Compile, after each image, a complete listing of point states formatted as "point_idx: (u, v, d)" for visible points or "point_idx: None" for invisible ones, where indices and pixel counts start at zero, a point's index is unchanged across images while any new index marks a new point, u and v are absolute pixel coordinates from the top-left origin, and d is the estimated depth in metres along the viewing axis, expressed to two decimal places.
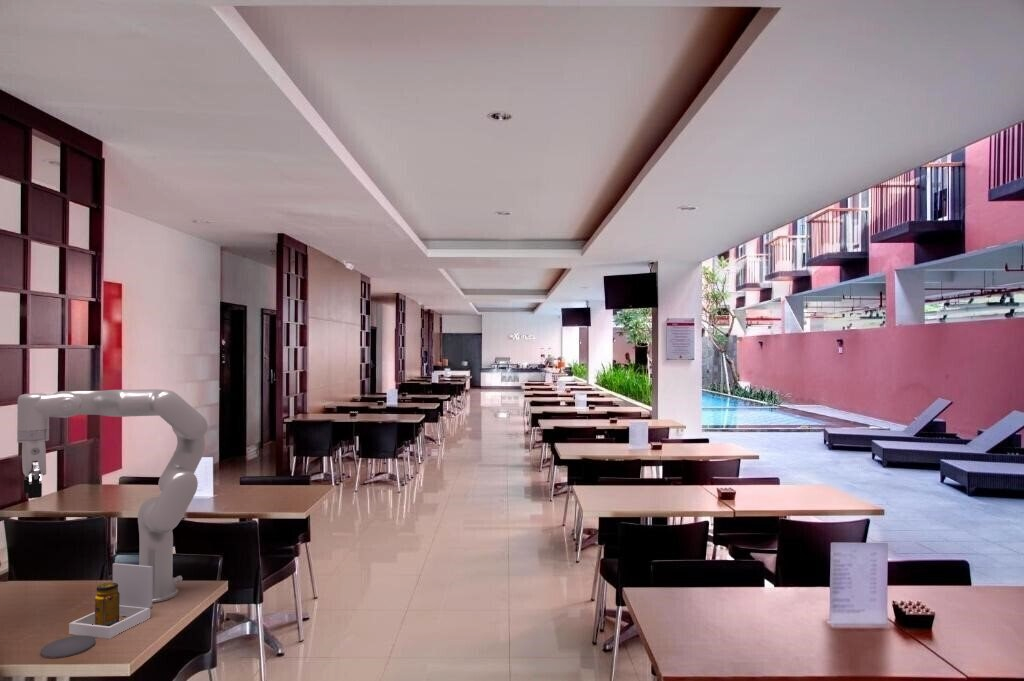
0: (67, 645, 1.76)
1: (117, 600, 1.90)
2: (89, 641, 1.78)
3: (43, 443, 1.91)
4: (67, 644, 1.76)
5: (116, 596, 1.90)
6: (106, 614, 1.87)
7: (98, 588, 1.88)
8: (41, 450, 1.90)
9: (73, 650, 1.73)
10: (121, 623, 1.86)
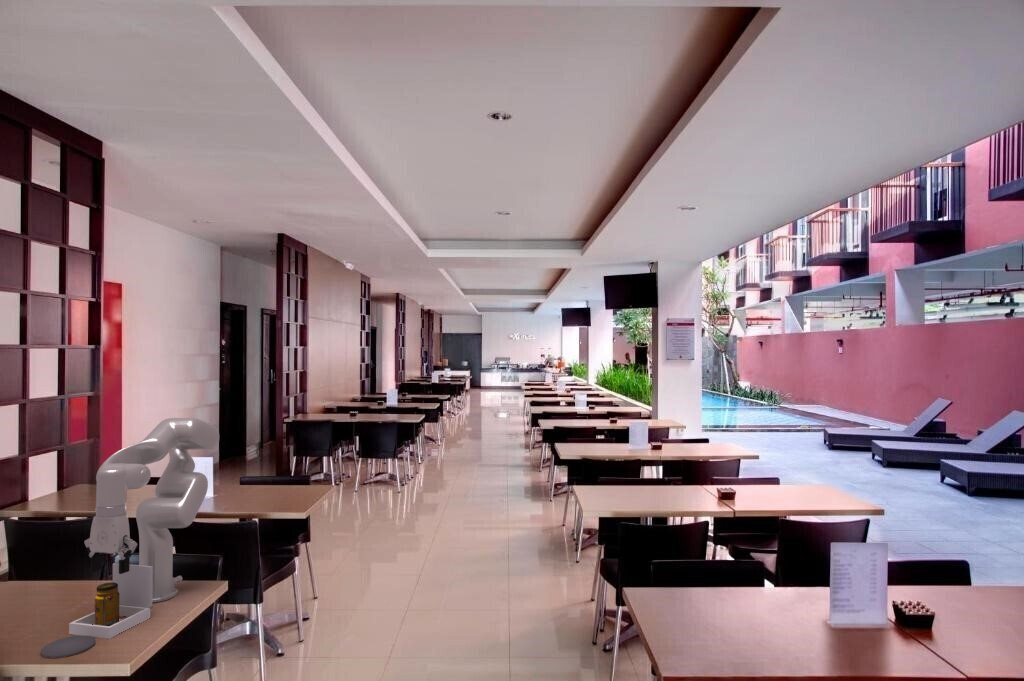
0: (67, 645, 1.76)
1: (117, 600, 1.90)
2: (89, 641, 1.78)
3: None
4: (67, 644, 1.76)
5: (116, 596, 1.90)
6: (106, 614, 1.87)
7: (98, 588, 1.88)
8: None
9: (73, 650, 1.73)
10: (121, 623, 1.86)
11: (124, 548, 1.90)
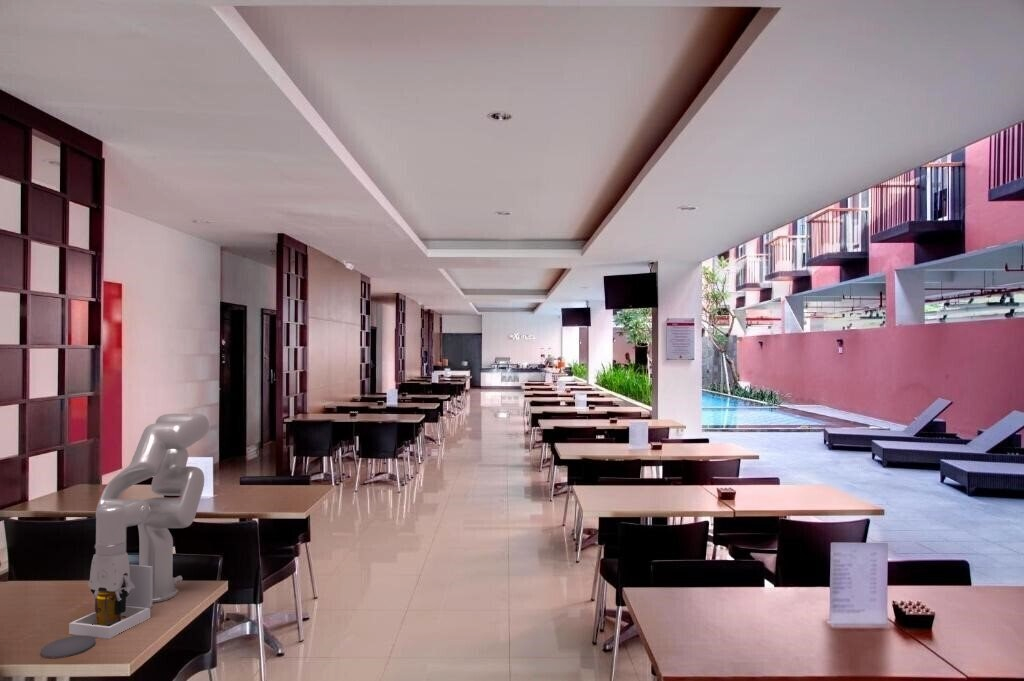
0: (67, 645, 1.76)
1: None
2: (89, 641, 1.78)
3: (93, 556, 1.90)
4: (67, 644, 1.76)
5: None
6: (108, 614, 1.87)
7: (100, 588, 1.88)
8: None
9: (73, 650, 1.73)
10: (121, 623, 1.86)
11: (122, 588, 1.90)
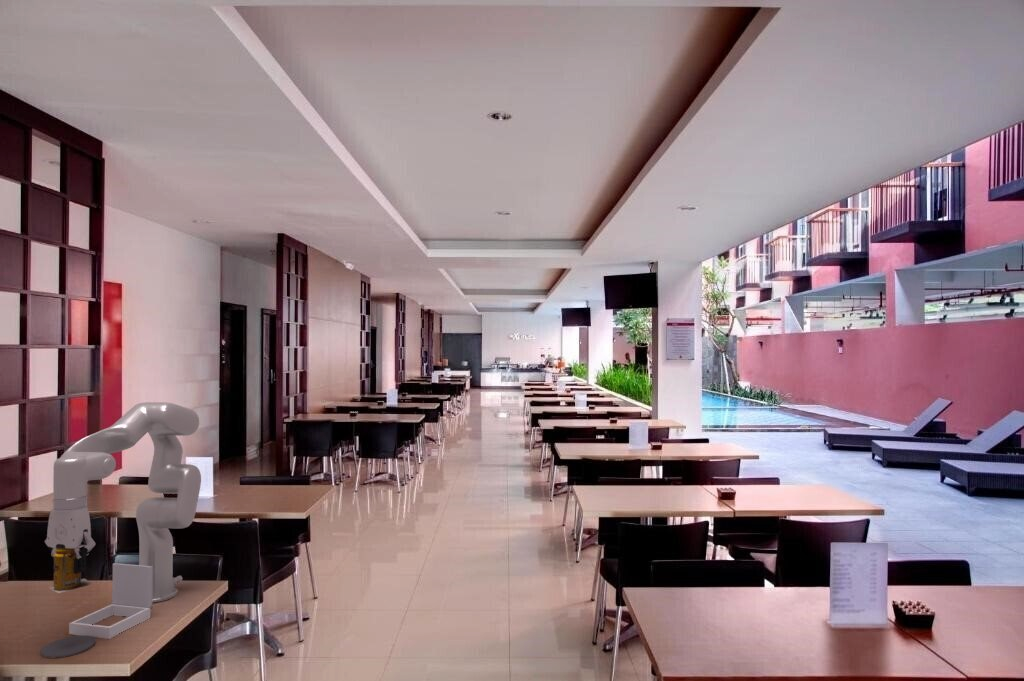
0: (67, 645, 1.76)
1: None
2: (89, 641, 1.78)
3: None
4: (67, 644, 1.76)
5: None
6: (66, 573, 1.73)
7: (57, 545, 1.74)
8: None
9: (73, 650, 1.73)
10: (121, 623, 1.86)
11: (82, 545, 1.76)
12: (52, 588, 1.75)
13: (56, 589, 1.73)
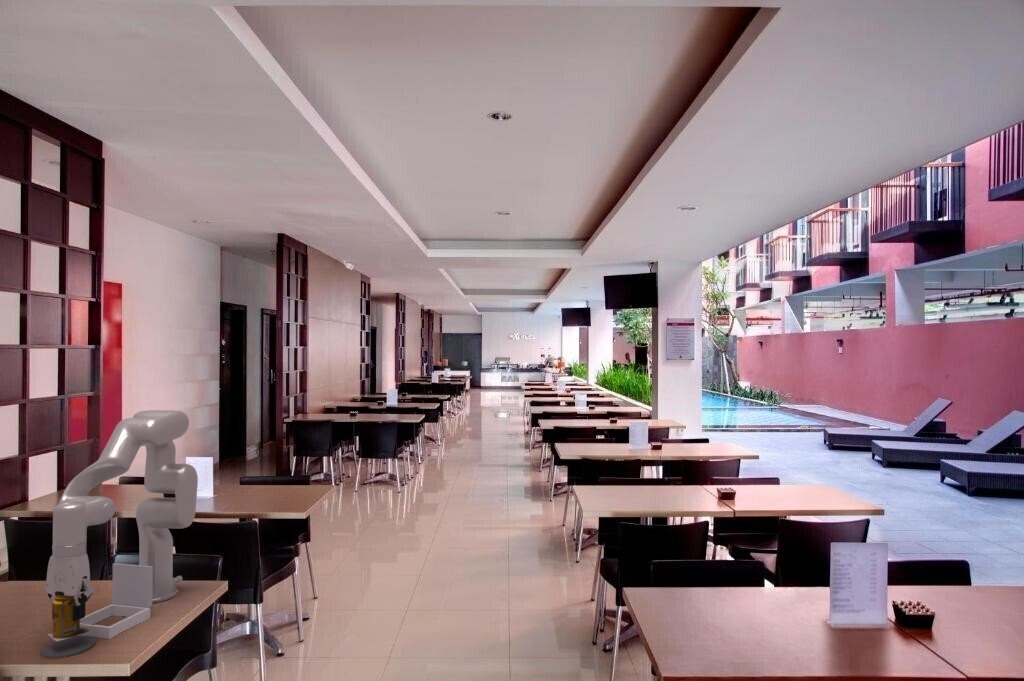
0: (67, 645, 1.76)
1: None
2: (89, 641, 1.78)
3: (50, 558, 1.76)
4: (67, 644, 1.76)
5: None
6: (65, 620, 1.73)
7: (56, 592, 1.74)
8: None
9: (73, 650, 1.73)
10: (121, 623, 1.86)
11: (81, 592, 1.76)
12: (51, 635, 1.74)
13: (55, 637, 1.73)
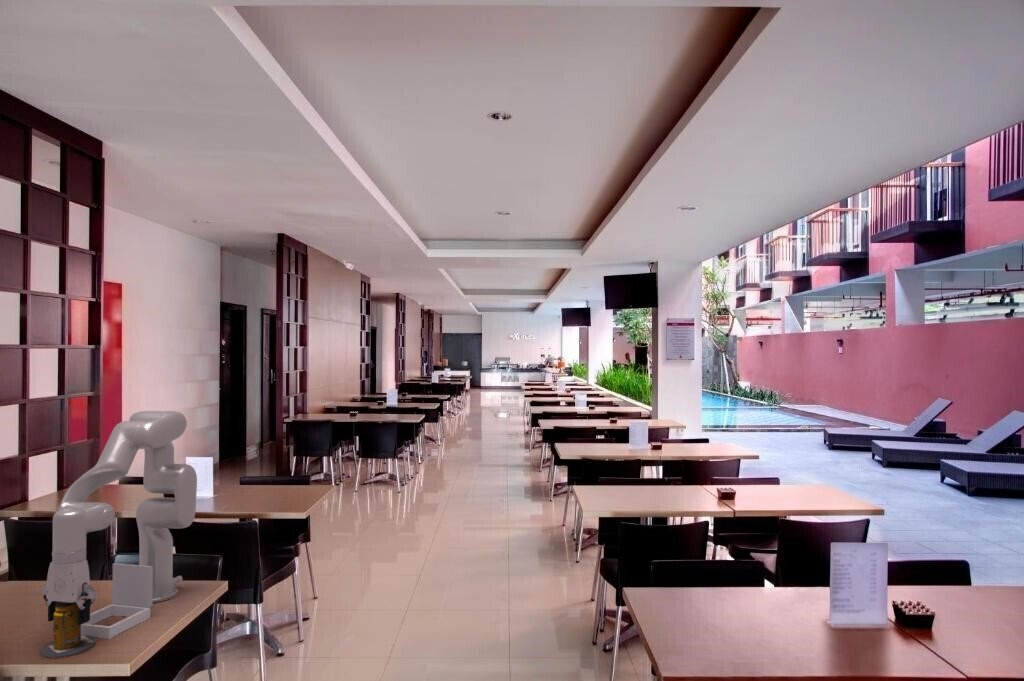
0: None
1: None
2: None
3: (50, 564, 1.76)
4: None
5: (77, 612, 1.75)
6: (66, 632, 1.73)
7: (57, 604, 1.74)
8: None
9: (73, 650, 1.73)
10: (121, 623, 1.86)
11: (84, 596, 1.76)
12: (52, 647, 1.74)
13: (56, 648, 1.73)
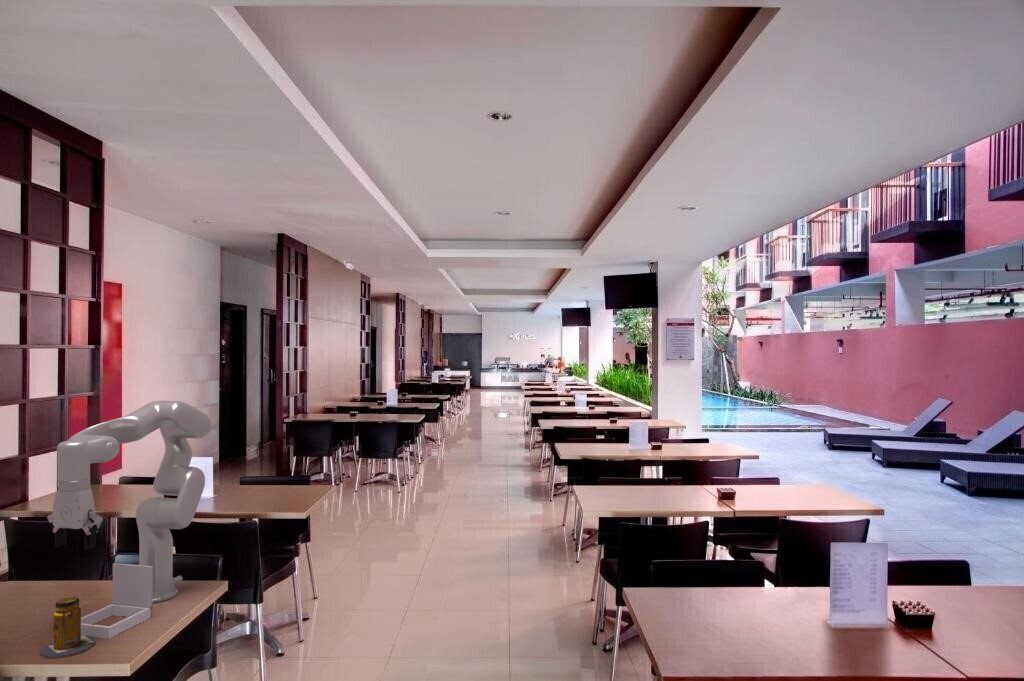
0: None
1: (78, 616, 1.76)
2: None
3: (55, 493, 1.82)
4: None
5: (77, 612, 1.75)
6: (66, 632, 1.73)
7: (57, 604, 1.74)
8: None
9: (73, 650, 1.73)
10: (121, 623, 1.86)
11: (89, 523, 1.82)
12: (52, 647, 1.74)
13: (56, 648, 1.73)
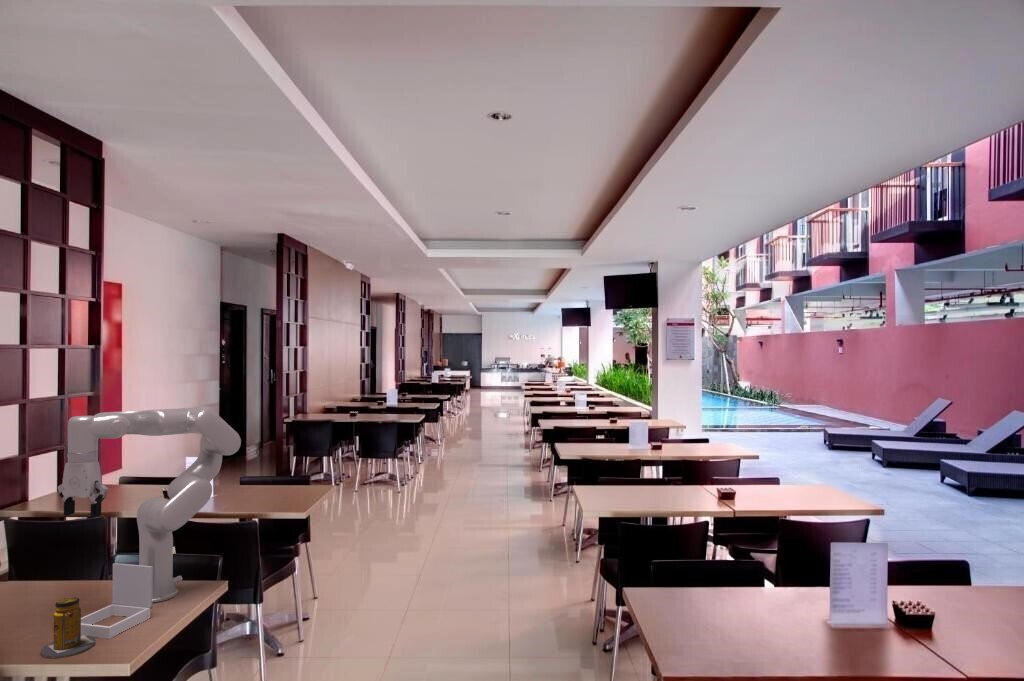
0: None
1: (78, 616, 1.76)
2: None
3: None
4: None
5: (77, 612, 1.75)
6: (66, 632, 1.73)
7: (57, 604, 1.74)
8: None
9: (73, 650, 1.73)
10: (121, 623, 1.86)
11: (96, 493, 1.96)
12: (52, 647, 1.74)
13: (56, 648, 1.73)
